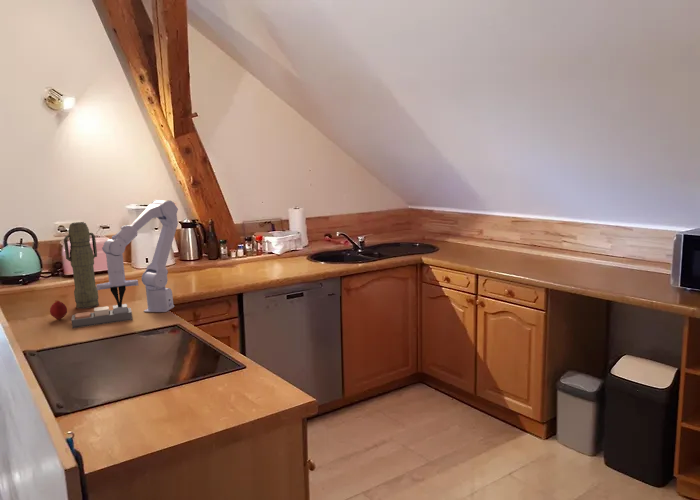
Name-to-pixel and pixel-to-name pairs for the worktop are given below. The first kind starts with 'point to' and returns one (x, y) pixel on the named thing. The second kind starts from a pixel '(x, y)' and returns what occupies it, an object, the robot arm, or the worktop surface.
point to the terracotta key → (83, 315)
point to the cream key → (101, 311)
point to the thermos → (82, 264)
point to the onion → (58, 310)
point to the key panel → (101, 319)
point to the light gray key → (120, 309)
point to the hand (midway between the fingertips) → (119, 306)
